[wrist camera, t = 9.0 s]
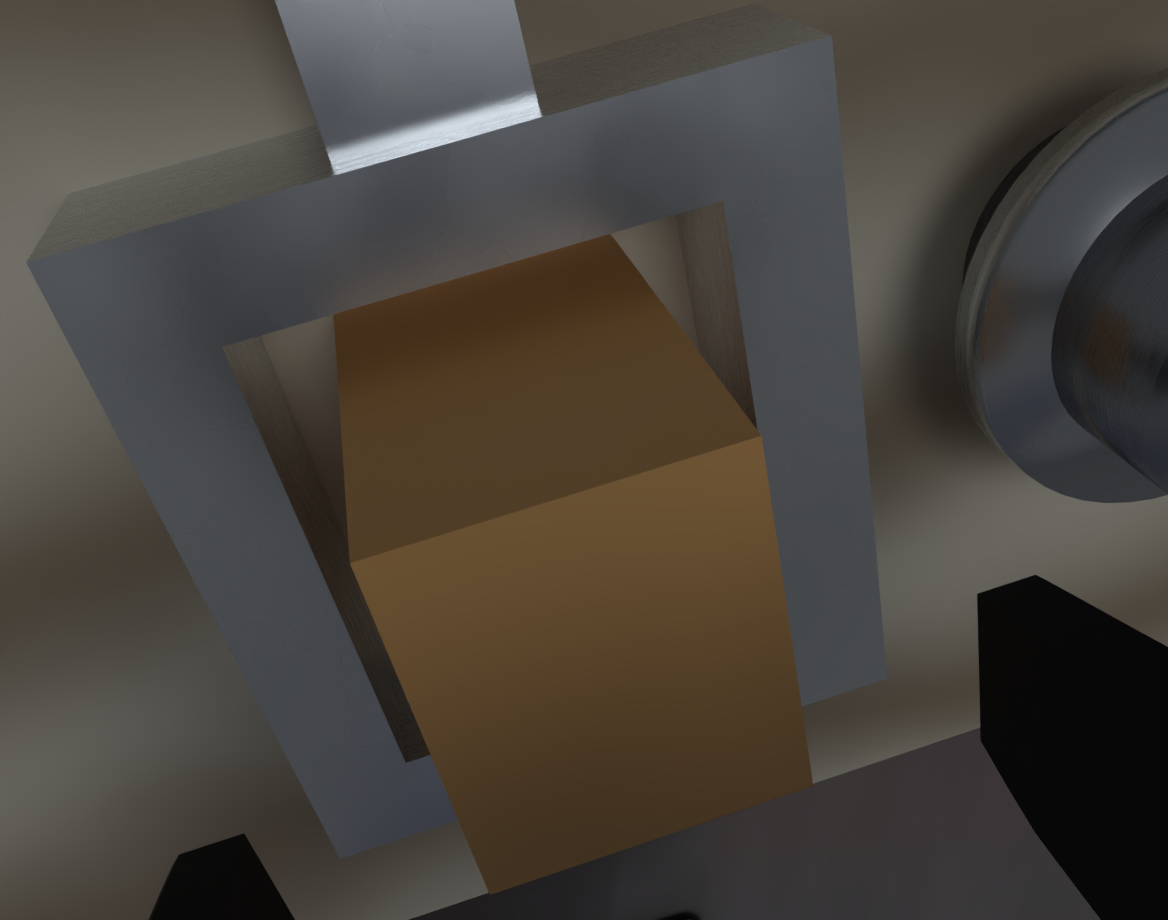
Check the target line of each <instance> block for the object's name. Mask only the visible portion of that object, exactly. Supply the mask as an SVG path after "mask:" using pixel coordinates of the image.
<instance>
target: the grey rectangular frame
mask: <svg viewBox="0 0 1168 920" xmlns="http://www.w3.org/2000/svg"><path fill="white" fill-rule="evenodd" d="M275 2H276V5H277V8H278V11H279V14H280V17H281V20H282V23H283V26H284V28H285V31H286V34H287V37H288V40H289V43H290V46H291V49H292V52H293V54H294V57H295V60H296V63H297V66H298V69H299V72H300V75H301V78H302V81H303V83H304V86H305V89H306V92H307V95H308V98H309V101H310V104H311V107H312V109H313V112H314V115H315V118H316V121H317V125H314V126H310V127H307V128H303V129H299V130H296V131H292V132H289V133H285V134H281V135H278V136H274V137H271V138H267V139H263V140H260V141H256V142H253V143H249V144H245V145H242V146H238V147H235V148H231V149H227V150H224V151H220V152H217V153H213V154H209V155H206V156H202V157H199V158H195V159H191V160H188V161H184V162H181V163H177V164H173V165H170V166H166V167H163V168H159V169H155V170H152V171H148V172H145V173H141V174H137V175H134V176H130V177H126V178H123V179H119V180H116V181H112V182H108V183H105V184H101V185H98V186H94V187H90V188H87V189H83V190H80V191H76V192H72V193H69V194H68V196H67V197H66V199H65V200H64V202H63V204H62V205H61V207H60V208H59V210H58V212H57V213H56V215H55V217H54V218H53V220H52V221H51V223H50V225H49V226H48V228H47V229H46V231H45V233H44V234H43V236H42V237H41V239H40V241H39V242H38V244H37V245H36V247H35V249H34V250H33V252H32V254H31V255H30V257H29V258H28V260H27V262H26V263H27V265H28V267H29V269H30V271H31V273H32V275H33V277H34V279H35V281H36V282H37V284H38V286H39V288H40V290H41V292H42V294H43V296H44V298H45V299H46V301H47V303H48V305H49V307H50V309H51V311H52V313H53V315H54V317H55V318H56V320H57V322H58V324H59V326H60V328H61V330H62V332H63V334H64V336H65V337H66V339H67V341H68V343H69V345H70V347H71V349H72V351H73V353H74V355H75V356H76V358H77V360H78V362H79V364H80V366H81V368H82V370H83V372H84V374H85V375H86V377H87V379H88V381H89V383H90V385H91V387H92V389H93V391H94V392H95V394H96V396H97V398H98V400H99V402H100V404H101V406H102V408H103V410H104V411H105V413H106V415H107V417H108V419H109V421H110V423H111V425H112V427H113V429H114V430H115V432H116V434H117V436H118V438H119V440H120V442H121V444H122V446H123V448H124V449H125V451H126V453H127V455H128V457H129V459H130V461H131V463H132V465H133V467H134V468H135V470H136V472H137V474H138V476H139V478H140V480H141V482H142V484H143V486H144V487H145V489H146V491H147V493H148V495H149V497H150V499H151V501H152V503H153V504H154V506H155V508H156V510H157V512H158V514H159V516H160V518H161V520H162V522H163V523H164V525H165V527H166V529H167V531H168V533H169V535H170V537H171V539H172V541H173V542H174V544H175V546H176V548H177V550H178V552H179V554H180V556H181V558H182V560H183V561H184V563H185V565H186V567H187V569H188V571H189V573H190V575H191V577H192V579H193V580H194V582H195V584H196V586H197V588H198V590H199V592H200V594H201V596H202V597H203V599H204V601H205V603H206V605H207V607H208V609H209V611H210V613H211V615H212V616H213V618H214V620H215V622H216V624H217V626H218V628H219V630H220V632H221V634H222V635H223V637H224V639H225V641H226V643H227V645H228V647H229V649H230V651H231V653H232V654H233V656H234V658H235V660H236V662H237V664H238V666H239V668H240V670H241V672H242V673H243V675H244V677H245V679H246V681H247V683H248V685H249V687H250V689H251V691H252V692H253V694H254V696H255V698H256V700H257V702H258V704H259V706H260V708H261V709H262V711H263V713H264V715H265V717H266V719H267V721H268V723H269V725H270V727H271V728H272V730H273V732H274V734H275V736H276V738H277V740H278V742H279V744H280V746H281V747H282V749H283V751H284V753H285V755H286V757H287V759H288V761H289V763H290V765H291V766H292V768H293V770H294V772H295V774H296V776H297V778H298V780H299V782H300V784H301V785H302V787H303V789H304V791H305V793H306V795H307V797H308V799H309V801H310V803H311V804H312V806H313V808H314V810H315V812H316V814H317V816H318V818H319V820H320V821H321V823H322V825H323V827H324V829H325V831H326V833H327V835H328V837H329V839H330V840H331V842H332V844H333V846H334V848H335V850H336V852H337V854H338V856H339V858H340V859H342V858H345V857H348V856H351V855H354V854H357V853H360V852H363V851H367V850H370V849H373V848H376V847H379V846H382V845H385V844H388V843H391V842H394V841H397V840H400V839H403V838H406V837H409V836H412V835H415V834H418V833H421V832H424V831H427V830H430V829H433V828H436V827H439V826H442V825H445V824H448V823H451V822H454V821H457V820H458V819H457V816H456V814H455V811H454V809H453V807H452V804H451V802H450V800H449V797H448V795H447V792H446V790H445V788H444V785H443V783H442V781H441V778H440V776H439V774H438V771H437V769H436V766H435V764H434V762H433V759H432V757H431V755H430V752H429V750H428V747H427V745H426V743H425V740H424V738H423V736H422V733H421V731H420V728H419V726H418V724H417V721H416V719H415V717H414V714H413V712H412V710H411V707H410V705H409V702H408V700H407V698H406V695H405V693H404V691H403V688H402V686H401V683H400V681H399V679H398V676H397V674H396V672H395V669H394V667H393V664H392V662H391V660H390V657H389V655H388V653H387V650H386V648H385V646H384V643H383V641H382V638H381V636H380V634H379V631H378V629H377V627H376V624H375V622H374V619H373V617H372V615H371V612H370V610H369V608H368V605H367V603H366V600H365V598H364V596H363V593H362V591H361V589H360V586H359V584H358V582H357V579H356V577H355V574H354V572H353V570H352V567H351V565H350V559H349V546H348V543H347V541H346V539H345V536H344V534H343V531H342V529H341V527H340V524H339V522H338V519H337V517H336V515H335V512H334V510H333V507H332V505H331V503H330V500H329V498H328V495H327V493H326V491H325V488H324V486H323V484H322V481H321V479H320V476H319V474H318V472H317V469H316V467H315V464H314V462H313V460H312V457H311V455H310V452H309V450H308V448H307V445H306V443H305V440H304V438H303V436H302V433H301V431H300V428H299V426H298V424H297V421H296V419H295V416H294V414H293V412H292V409H291V407H290V405H289V402H288V400H287V397H286V395H285V393H284V390H283V388H282V385H281V383H280V381H279V378H278V376H277V373H276V371H275V369H274V366H273V364H272V361H271V359H270V357H269V354H268V352H267V349H266V347H265V345H264V342H263V340H262V337H261V335H265V334H268V333H271V332H275V331H278V330H282V329H285V328H289V327H292V326H295V325H299V324H302V323H306V322H309V321H313V320H316V319H319V318H323V317H326V316H330V315H333V314H337V313H340V312H343V311H347V310H350V309H354V308H357V307H361V306H364V305H367V304H371V303H374V302H378V301H381V300H385V299H388V298H391V297H395V296H398V295H402V294H405V293H409V292H412V291H415V290H419V289H422V288H426V287H429V286H433V285H436V284H440V283H443V282H446V281H450V280H453V279H457V278H460V277H464V276H467V275H470V274H474V273H477V272H481V271H484V270H488V269H491V268H494V267H498V266H501V265H505V264H508V263H512V262H515V261H518V260H522V259H525V258H529V257H532V256H536V255H539V254H542V253H546V252H549V251H553V250H556V249H560V248H563V247H566V246H570V245H573V244H577V243H580V242H584V241H587V240H590V239H594V238H597V237H601V236H604V235H608V234H611V233H614V232H618V231H621V230H625V229H628V228H632V227H635V226H638V225H642V224H645V223H649V222H652V221H656V220H659V219H662V218H666V217H669V216H673V215H676V221H677V226H678V232H679V238H680V243H681V249H682V255H683V261H684V266H685V272H686V278H687V283H688V289H689V295H690V300H691V306H692V312H693V318H694V323H695V329H696V335H697V340H698V346H699V352H700V354H701V355H702V357H703V358H704V359H705V361H706V362H707V363H708V365H709V366H710V367H711V369H712V370H713V371H714V373H715V374H716V375H717V377H718V378H719V379H720V381H721V382H722V383H723V385H724V386H725V387H726V389H727V390H728V391H729V393H730V394H731V395H732V397H733V398H734V400H735V401H736V402H737V404H738V405H739V406H740V408H741V409H742V410H743V412H744V413H745V414H746V416H747V417H748V418H749V420H750V421H751V422H752V424H753V425H754V426H755V428H756V429H757V430H758V432H759V433H760V434H761V436H762V442H763V448H764V455H765V462H766V469H767V476H768V482H769V489H770V496H771V503H772V509H773V516H774V523H775V530H776V536H777V543H778V550H779V557H780V563H781V570H782V577H783V584H784V591H785V597H786V604H787V611H788V618H789V624H790V631H791V638H792V645H793V651H794V658H795V665H796V672H797V678H798V685H799V692H800V699H801V705H802V706H806V705H809V704H812V703H815V702H818V701H821V700H824V699H827V698H830V697H833V696H836V695H839V694H842V693H845V692H848V691H851V690H854V689H857V688H860V687H863V686H866V685H869V684H872V683H875V682H878V681H881V680H884V679H887V670H886V659H885V647H884V635H883V624H882V612H881V601H880V589H879V577H878V566H877V554H876V542H875V531H874V519H873V508H872V496H871V484H870V473H869V461H868V449H867V438H866V426H865V415H864V403H863V391H862V380H861V368H860V356H859V345H858V333H857V322H856V310H855V298H854V287H853V275H852V263H851V252H850V240H849V229H848V217H847V205H846V194H845V182H844V170H843V159H842V147H841V135H840V124H839V112H838V101H837V89H836V77H835V66H834V54H833V42H832V35H830V34H827V33H825V32H822V31H820V30H817V29H815V28H812V27H810V26H807V25H805V24H803V23H800V22H798V21H795V20H793V19H790V18H788V17H785V16H783V15H780V14H778V13H775V12H773V11H771V10H768V9H766V8H763V7H761V6H758V5H756V4H749V5H746V6H742V7H739V8H735V9H731V10H728V11H724V12H721V13H717V14H713V15H710V16H706V17H703V18H699V19H695V20H692V21H688V22H685V23H681V24H677V25H674V26H670V27H667V28H663V29H659V30H656V31H652V32H649V33H645V34H641V35H638V36H634V37H631V38H627V39H623V40H620V41H616V42H613V43H609V44H605V45H602V46H598V47H595V48H591V49H587V50H584V51H580V52H577V53H573V54H569V55H566V56H562V57H559V58H555V59H551V60H548V61H544V62H541V63H537V64H533V65H530V66H529V62H528V58H527V53H526V49H525V45H524V41H523V36H522V32H521V28H520V24H519V19H518V15H517V11H516V6H515V2H514V0H275ZM955 359H956V369H957V376H958V380H959V384H960V387H961V391H962V395H963V398H964V400H965V402H966V405H967V407H968V409H969V411H970V413H971V416H972V418H973V419H974V420H975V422H976V423H977V425H978V426H979V428H980V429H981V431H982V432H983V434H984V435H985V436H986V437H987V438H988V439H989V440H990V441H991V442H992V443H993V444H994V445H995V446H996V447H997V448H998V449H999V450H1000V451H1001V452H1003V453H1004V454H1005V455H1006V456H1007V457H1008V458H1009V459H1010V460H1011V461H1013V462H1014V463H1015V464H1016V465H1017V466H1018V467H1019V468H1020V469H1021V470H1023V471H1024V472H1025V473H1026V474H1027V475H1028V476H1030V477H1031V478H1033V479H1034V480H1036V481H1037V482H1038V483H1040V484H1041V485H1043V486H1044V487H1046V488H1049V489H1051V490H1053V491H1055V492H1057V493H1060V494H1062V495H1064V496H1068V497H1072V498H1076V499H1080V500H1083V501H1091V502H1101V503H1128V502H1136V501H1142V500H1149V499H1155V498H1158V497H1162V496H1166V495H1168V68H1165V69H1163V70H1160V71H1157V72H1154V73H1152V74H1149V75H1146V76H1144V77H1142V78H1140V79H1138V80H1136V81H1134V82H1132V83H1130V84H1128V85H1126V86H1124V87H1122V88H1120V89H1118V90H1117V91H1115V92H1114V93H1112V94H1110V95H1109V96H1107V97H1106V98H1104V99H1103V100H1101V101H1100V102H1098V103H1097V104H1095V105H1094V106H1092V107H1090V108H1089V109H1088V110H1086V111H1085V112H1084V113H1083V114H1081V115H1080V116H1079V117H1078V118H1077V119H1075V120H1074V121H1073V122H1072V123H1070V124H1069V125H1067V126H1065V127H1063V128H1061V129H1060V130H1058V131H1057V132H1055V133H1054V134H1052V135H1051V136H1049V137H1048V138H1046V139H1044V140H1043V141H1042V142H1041V143H1040V144H1038V145H1037V146H1036V147H1035V148H1033V149H1032V150H1031V151H1030V152H1028V153H1027V154H1026V155H1025V156H1024V157H1023V158H1022V159H1021V160H1020V161H1019V162H1018V163H1017V164H1016V165H1015V166H1014V167H1013V168H1012V170H1011V171H1010V172H1009V173H1008V174H1007V176H1006V177H1005V178H1004V179H1003V180H1002V182H1001V183H1000V184H999V186H998V187H997V189H996V190H995V192H994V193H993V195H992V196H991V198H990V199H989V200H988V202H987V204H986V206H985V208H984V210H983V212H982V213H981V215H980V217H979V219H978V222H977V224H976V226H975V229H974V231H973V234H972V236H971V239H970V243H969V246H968V250H967V253H966V258H965V264H964V270H963V286H962V291H961V295H960V300H959V306H958V312H957V318H956V324H955Z"/></svg>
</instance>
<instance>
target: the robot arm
mask: <svg viewBox="0 0 1168 920" xmlns="http://www.w3.org/2000/svg"><path fill="white" fill-rule="evenodd" d="M977 614H978V653H979V692H980V732H981V742H982V744H983V745H984V747H985V749H986V750H987V752H988V754H989V756H990V757H991V759H992V761H993V763H994V764H995V766H996V768H997V770H998V771H999V773H1000V775H1001V776H1002V778H1003V780H1004V782H1005V783H1006V785H1007V787H1008V789H1009V790H1010V792H1011V794H1012V795H1013V797H1014V799H1015V800H1016V802H1017V803H1018V805H1019V807H1020V808H1021V810H1022V812H1023V813H1024V815H1025V817H1026V818H1027V820H1028V821H1029V823H1030V825H1031V826H1032V828H1033V830H1034V831H1035V833H1036V834H1037V836H1038V837H1039V838H1040V840H1041V841H1042V842H1043V844H1044V845H1045V846H1046V848H1047V849H1048V850H1049V852H1050V853H1051V854H1052V856H1053V857H1054V858H1055V860H1056V861H1057V862H1058V864H1059V865H1060V866H1061V868H1062V869H1063V870H1064V872H1065V873H1066V874H1067V876H1068V877H1069V878H1070V880H1071V881H1072V882H1073V884H1074V885H1075V886H1076V887H1077V889H1078V890H1079V891H1080V893H1081V894H1082V895H1083V897H1084V898H1085V899H1086V901H1087V902H1088V903H1089V905H1090V906H1091V907H1092V909H1093V910H1094V911H1095V912H1096V914H1097V915H1098V916H1099V918H1100V919H1101V920H1168V647H1167V646H1165V645H1164V644H1162V643H1160V642H1158V641H1156V640H1154V639H1153V638H1151V637H1149V636H1147V635H1145V634H1143V633H1142V632H1140V631H1138V630H1136V629H1134V628H1132V627H1131V626H1129V625H1127V624H1125V623H1123V622H1121V621H1120V620H1118V619H1116V618H1114V617H1112V616H1111V615H1109V614H1107V613H1105V612H1103V611H1102V610H1100V609H1098V608H1096V607H1094V606H1093V605H1091V604H1089V603H1087V602H1085V601H1084V600H1082V599H1080V598H1078V597H1076V596H1075V595H1073V594H1071V593H1069V592H1067V591H1065V590H1064V589H1062V588H1060V587H1058V586H1056V585H1054V584H1052V583H1051V582H1049V581H1047V580H1045V579H1043V578H1041V577H1039V576H1037V575H1033V576H1030V577H1027V578H1024V579H1021V580H1018V581H1015V582H1011V583H1008V584H1005V585H1002V586H999V587H996V588H993V589H990V590H987V591H984V592H981V593H978V594H977ZM148 920H295V919H294V917H293V915H292V914H291V912H290V910H289V909H288V907H287V905H286V903H285V902H284V900H283V898H282V897H281V895H280V893H279V892H278V890H277V888H276V886H275V885H274V883H273V881H272V880H271V878H270V876H269V875H268V873H267V871H266V869H265V868H264V866H263V864H262V863H261V861H260V859H259V857H258V856H257V854H256V852H255V851H254V849H253V847H252V846H251V844H250V842H249V840H248V839H247V837H246V835H245V834H244V833H243V834H240V835H237V836H234V837H231V838H228V839H225V840H222V841H219V842H216V843H213V844H209V845H206V846H203V847H200V848H197V849H194V850H191V851H188V852H185V853H182V854H179V855H178V857H177V859H176V860H175V862H174V864H173V865H172V867H171V869H170V872H169V874H168V876H167V878H166V881H165V883H164V885H163V887H162V890H161V892H160V894H159V897H158V899H157V901H156V903H155V906H154V908H153V910H152V913H151V915H150V917H149V919H148ZM688 920H691V919H688Z"/></svg>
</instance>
